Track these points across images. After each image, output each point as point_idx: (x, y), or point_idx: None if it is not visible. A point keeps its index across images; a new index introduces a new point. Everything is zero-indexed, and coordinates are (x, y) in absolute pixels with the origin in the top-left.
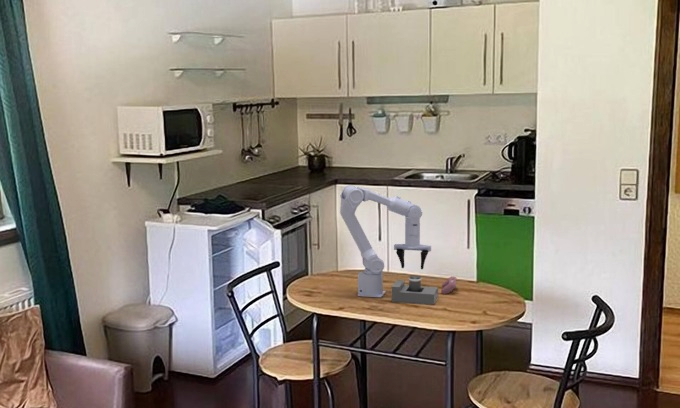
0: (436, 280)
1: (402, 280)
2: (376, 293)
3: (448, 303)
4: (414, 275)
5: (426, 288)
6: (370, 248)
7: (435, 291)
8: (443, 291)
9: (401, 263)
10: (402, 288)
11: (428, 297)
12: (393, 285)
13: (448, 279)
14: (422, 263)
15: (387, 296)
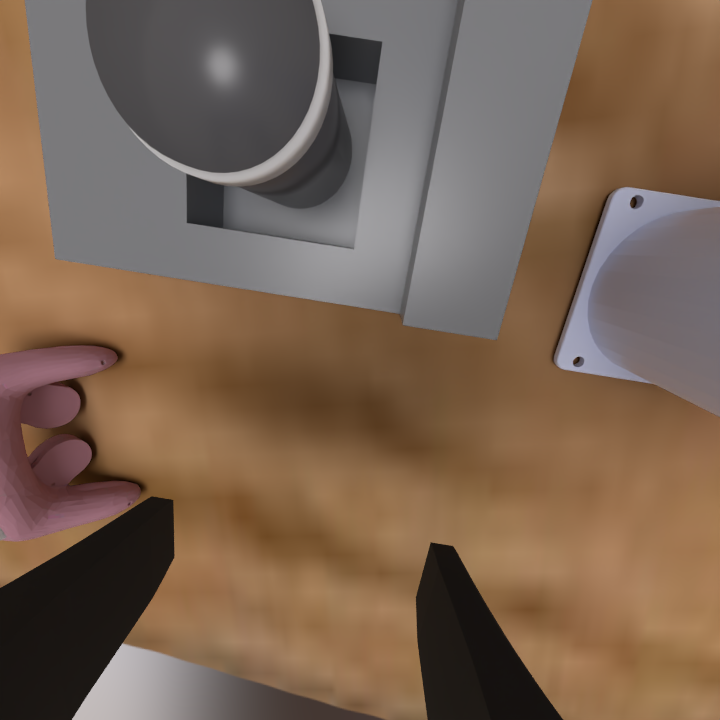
0: (206, 622)
1: (429, 308)
2: (673, 217)
3: (5, 70)
4: (226, 163)
5: (158, 195)
6: None
7: (35, 68)
8: (89, 349)
9: (477, 608)
10: (423, 171)
11: None
12: (575, 5)
13: (48, 523)
14: (66, 558)
15: (543, 248)
